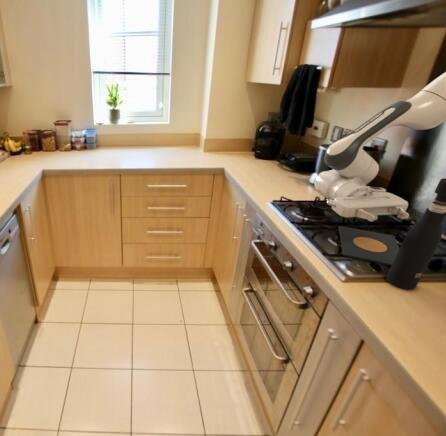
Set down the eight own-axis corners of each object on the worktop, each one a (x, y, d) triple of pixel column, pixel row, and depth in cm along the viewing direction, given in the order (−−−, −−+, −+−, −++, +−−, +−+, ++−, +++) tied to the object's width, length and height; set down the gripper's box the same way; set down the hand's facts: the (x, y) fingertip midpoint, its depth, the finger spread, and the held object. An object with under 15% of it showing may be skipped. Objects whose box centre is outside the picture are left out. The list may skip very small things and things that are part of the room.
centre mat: (393, 237, 108) (394, 235, 107) (407, 269, 92) (408, 267, 92) (338, 227, 114) (339, 225, 114) (342, 255, 99) (343, 253, 99)
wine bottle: (389, 272, 91) (435, 174, 77) (417, 282, 87) (472, 181, 73) (383, 282, 88) (431, 181, 73) (412, 293, 83) (469, 188, 69)
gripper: (326, 191, 99) (359, 210, 87) (387, 187, 101) (428, 205, 88) (320, 208, 102) (352, 230, 90) (380, 205, 104) (418, 225, 91)
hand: (390, 218), depth 89 cm, fingers open, 8 cm apart
